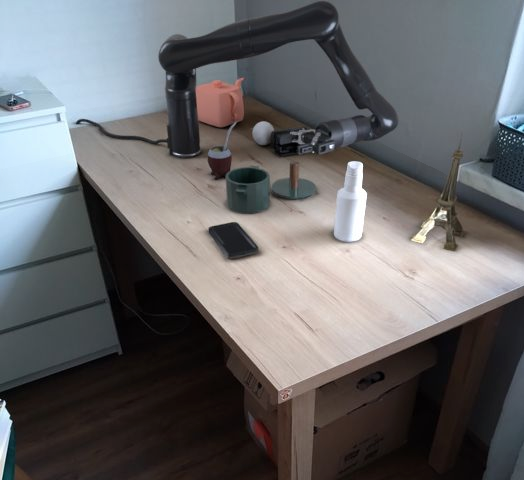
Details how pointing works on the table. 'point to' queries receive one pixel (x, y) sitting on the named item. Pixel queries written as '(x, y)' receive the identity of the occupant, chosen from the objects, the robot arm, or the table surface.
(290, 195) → the lid
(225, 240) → the phone
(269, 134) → the white sphere
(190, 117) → the robot arm
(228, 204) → the pot
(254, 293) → the table surface
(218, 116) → the teapot
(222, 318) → the table surface
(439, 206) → the eiffel tower
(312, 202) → the table surface
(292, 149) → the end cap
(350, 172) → the white bottle
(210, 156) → the mate gourd
